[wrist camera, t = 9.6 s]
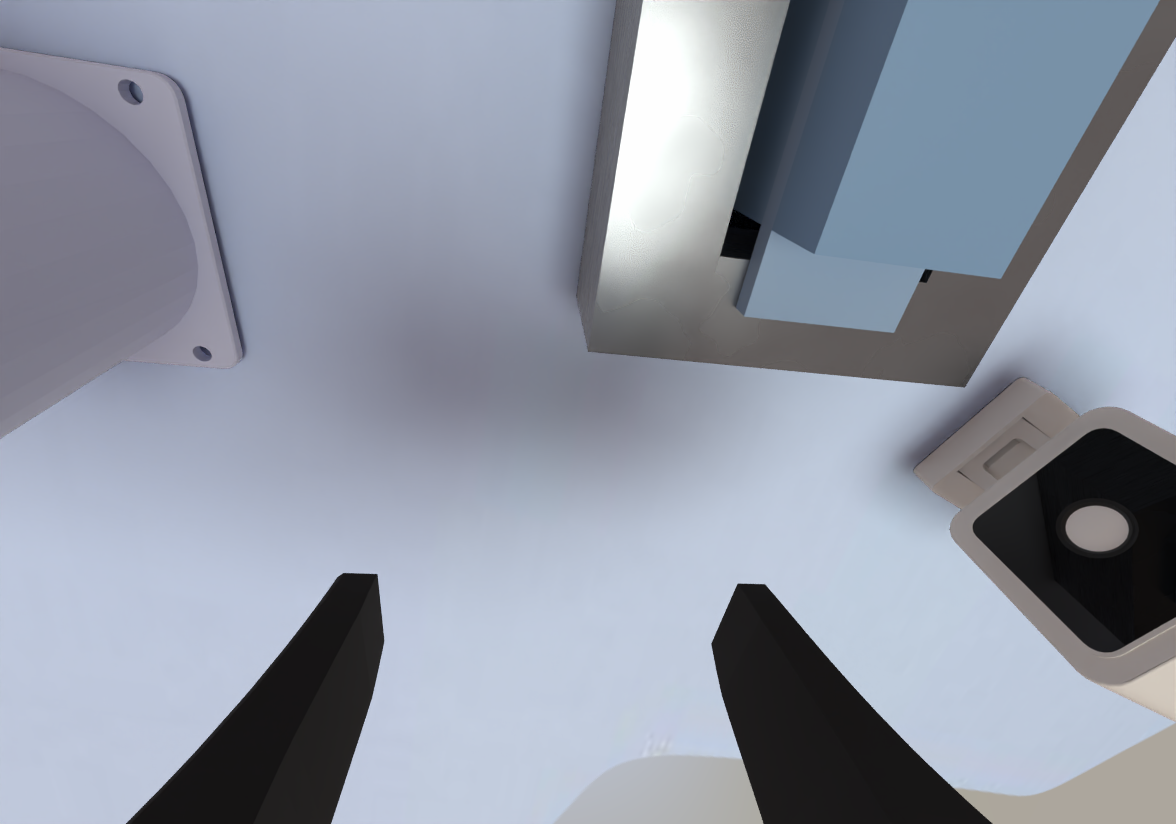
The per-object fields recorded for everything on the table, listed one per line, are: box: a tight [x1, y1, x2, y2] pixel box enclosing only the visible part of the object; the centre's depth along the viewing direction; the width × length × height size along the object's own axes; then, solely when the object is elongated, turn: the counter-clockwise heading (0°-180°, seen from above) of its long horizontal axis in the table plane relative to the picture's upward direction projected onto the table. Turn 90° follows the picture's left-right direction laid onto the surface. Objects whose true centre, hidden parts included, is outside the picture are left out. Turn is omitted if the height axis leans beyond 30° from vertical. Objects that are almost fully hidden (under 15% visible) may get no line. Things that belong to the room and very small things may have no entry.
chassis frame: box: [576, 0, 1176, 387], centre depth 12 cm, size 11×13×4 cm
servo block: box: [733, 0, 1160, 333], centre depth 11 cm, size 4×10×7 cm, turn 172°
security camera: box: [914, 377, 1176, 722], centre depth 17 cm, size 6×7×10 cm
